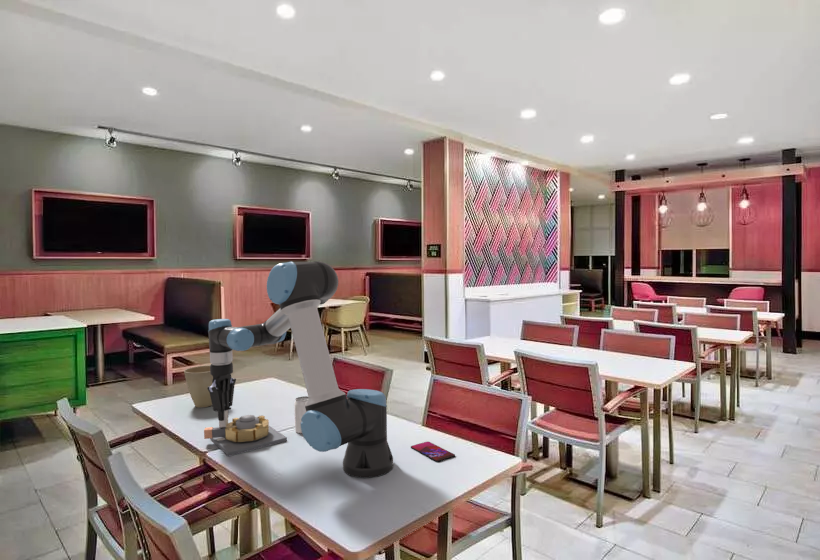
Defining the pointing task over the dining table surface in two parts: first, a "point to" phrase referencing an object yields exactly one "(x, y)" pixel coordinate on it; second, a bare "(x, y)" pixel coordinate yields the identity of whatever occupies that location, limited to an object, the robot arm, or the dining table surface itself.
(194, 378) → the plant pot
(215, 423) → the dining table surface
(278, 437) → the base
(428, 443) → the smartphone
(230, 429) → the ring nut
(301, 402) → the can
